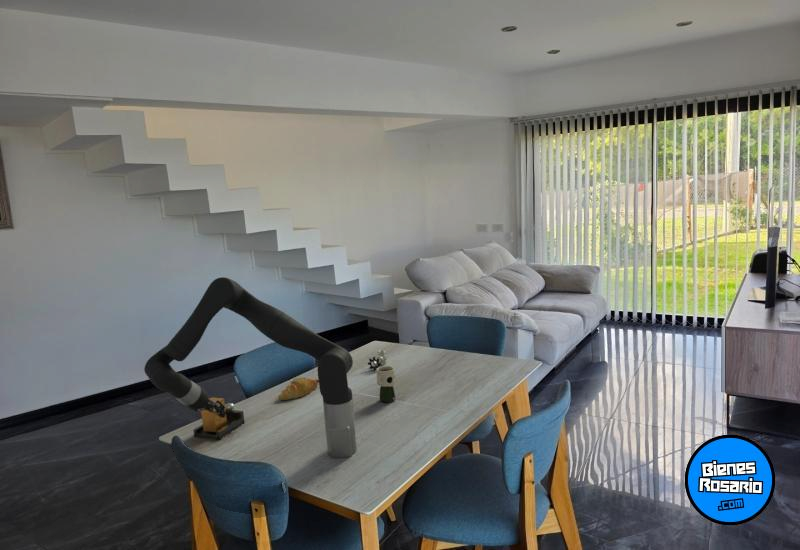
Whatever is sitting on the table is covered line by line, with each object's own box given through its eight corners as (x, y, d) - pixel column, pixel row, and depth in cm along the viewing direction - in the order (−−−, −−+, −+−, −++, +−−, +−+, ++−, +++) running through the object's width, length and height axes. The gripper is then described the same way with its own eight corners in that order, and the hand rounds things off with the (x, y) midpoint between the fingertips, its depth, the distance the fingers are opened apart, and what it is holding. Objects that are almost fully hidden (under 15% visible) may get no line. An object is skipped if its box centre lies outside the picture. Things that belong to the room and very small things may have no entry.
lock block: (216, 432, 191) (213, 404, 189) (203, 430, 193) (200, 403, 191) (227, 424, 197) (224, 398, 195) (215, 423, 199) (212, 397, 197)
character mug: (387, 406, 209) (385, 374, 207) (372, 403, 213) (369, 371, 211) (402, 397, 218) (400, 365, 216) (387, 394, 222) (385, 363, 220)
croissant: (284, 411, 220) (288, 396, 216) (269, 396, 224) (273, 381, 221) (322, 393, 236) (327, 379, 232) (307, 380, 241) (312, 365, 237)
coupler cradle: (219, 440, 189) (217, 420, 188) (194, 436, 192) (191, 417, 191) (246, 422, 202) (244, 403, 201) (221, 419, 206) (219, 401, 205)
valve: (378, 362, 265) (368, 370, 254) (377, 349, 264) (367, 356, 253) (390, 363, 263) (381, 371, 252) (389, 350, 262) (380, 357, 251)
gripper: (212, 385, 183) (238, 406, 195) (177, 382, 188) (205, 403, 200) (203, 406, 178) (230, 426, 191) (168, 403, 183) (197, 422, 196)
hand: (217, 414), depth 196 cm, fingers closed on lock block, 5 cm apart
